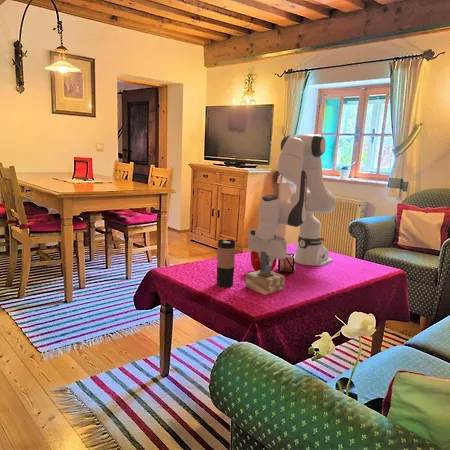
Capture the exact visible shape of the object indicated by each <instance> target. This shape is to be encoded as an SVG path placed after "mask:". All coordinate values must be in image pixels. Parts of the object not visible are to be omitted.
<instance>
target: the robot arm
mask: <svg viewBox="0 0 450 450" xmlns="http://www.w3.org/2000/svg"><path fill="white" fill-rule="evenodd" d="M326 146H327V144H326V139H325V137H324V136H323V135H321V134H312V133H311V134H310V133H308V134H307V133H304V134H303V133H302V134H295V135H291V134H290V135H286V136H284V137H283V138H282V140H281V141H280V154H279V157H278V161H277V167H276V168H277V172H278V173H279V175H280V177H282V178H284V179H285V180H287V181H289V182H290V183H293V184H294V185H296V186H295V188H296V189H295V190H294V191H292V193H291V195H290V198H289V202H283V201H280V197H279V196H278V195H274V194H269V195H267V194H266V195H264V196H262V197H261V199H260V202H259V209H258V224H257V228H253V229H249V230H248V233H249V236H248V241H247V247H248V249H249V250H250V251H255V252H258V255H259V258H260V260H261V251H263V252H266V255H267V256H269V258H270V260H269V261H268V262H267V265H268V266H272V264H273V261H274V259H275V258H277V260H280V261H281V260H285V259H286V258H287V257H288V252H287V251H288V250H287V240H286V239H285V238H284V237H282V236H280V235H279V231H280V230H279V229H280V227H279V224H280V225H286V226H290V227H294V228H298V227H299V235H298V237H297V244H296V248H295V255H294V256H295V259H294V260H295V261H294V262H295V263H297V264H299V265H304V266H316V267H322V266H325V265H327V264H329V263H331V262H332V261H333V258H332V257H329V250H328V248H327V247H326V246H325V245H324V244H322V242H325V240H326V238H325V237H322V236H321V233H322V232H321V231H322V223H321V221H320V220H319V219H318V218H317V217H316V216H315V215H314V213H318V214H319V213H320V214H330V213H332V212H333V211H335V209H336V207H337V199H336V196H335V195H334V194H333V193H331V192H330V190H329V189H328V188H327V186H326V184H325V182H324V179H323V178H324V176H323V166H322V156H323V155H324V154H325V152H326V148H327V147H326Z"/></svg>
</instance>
